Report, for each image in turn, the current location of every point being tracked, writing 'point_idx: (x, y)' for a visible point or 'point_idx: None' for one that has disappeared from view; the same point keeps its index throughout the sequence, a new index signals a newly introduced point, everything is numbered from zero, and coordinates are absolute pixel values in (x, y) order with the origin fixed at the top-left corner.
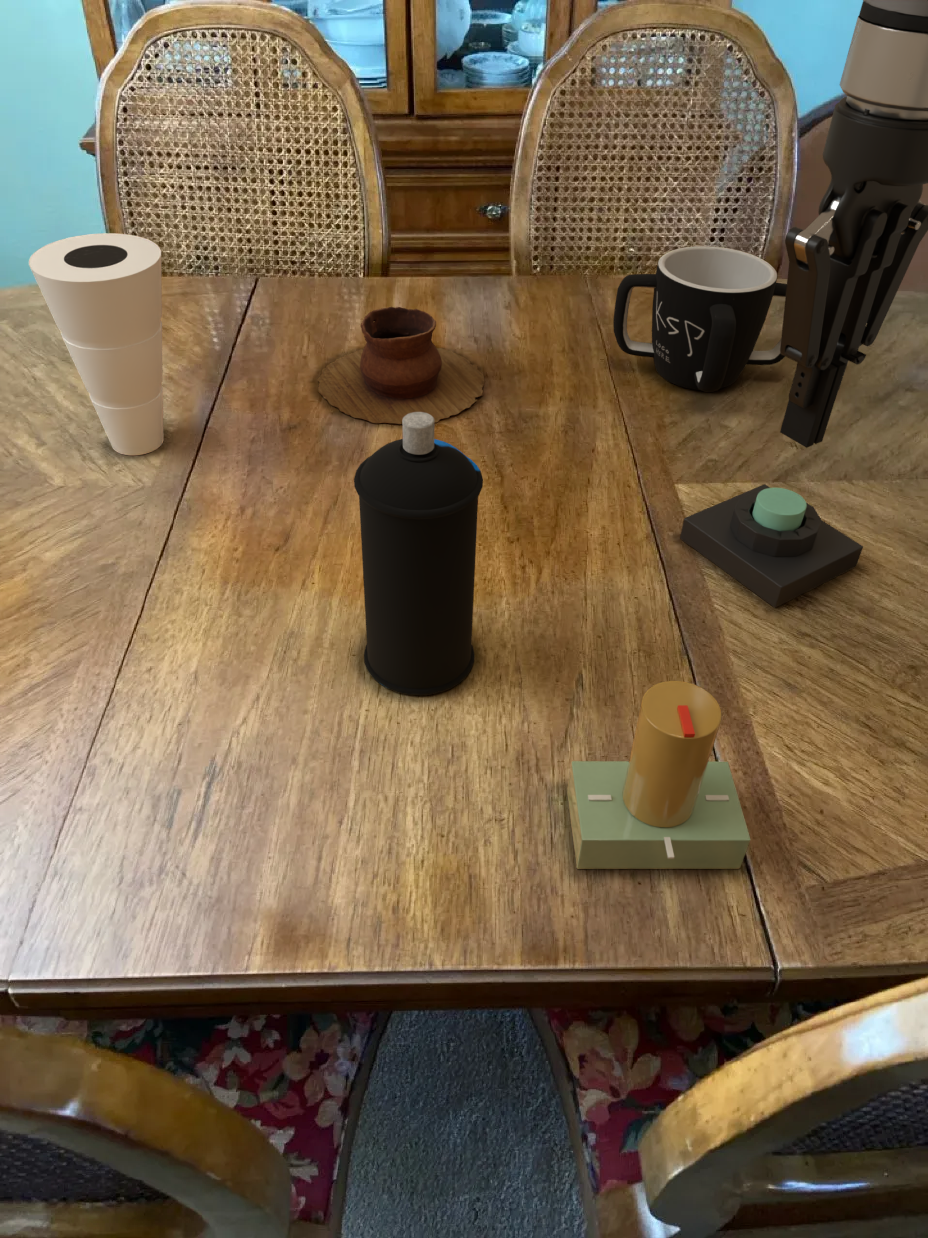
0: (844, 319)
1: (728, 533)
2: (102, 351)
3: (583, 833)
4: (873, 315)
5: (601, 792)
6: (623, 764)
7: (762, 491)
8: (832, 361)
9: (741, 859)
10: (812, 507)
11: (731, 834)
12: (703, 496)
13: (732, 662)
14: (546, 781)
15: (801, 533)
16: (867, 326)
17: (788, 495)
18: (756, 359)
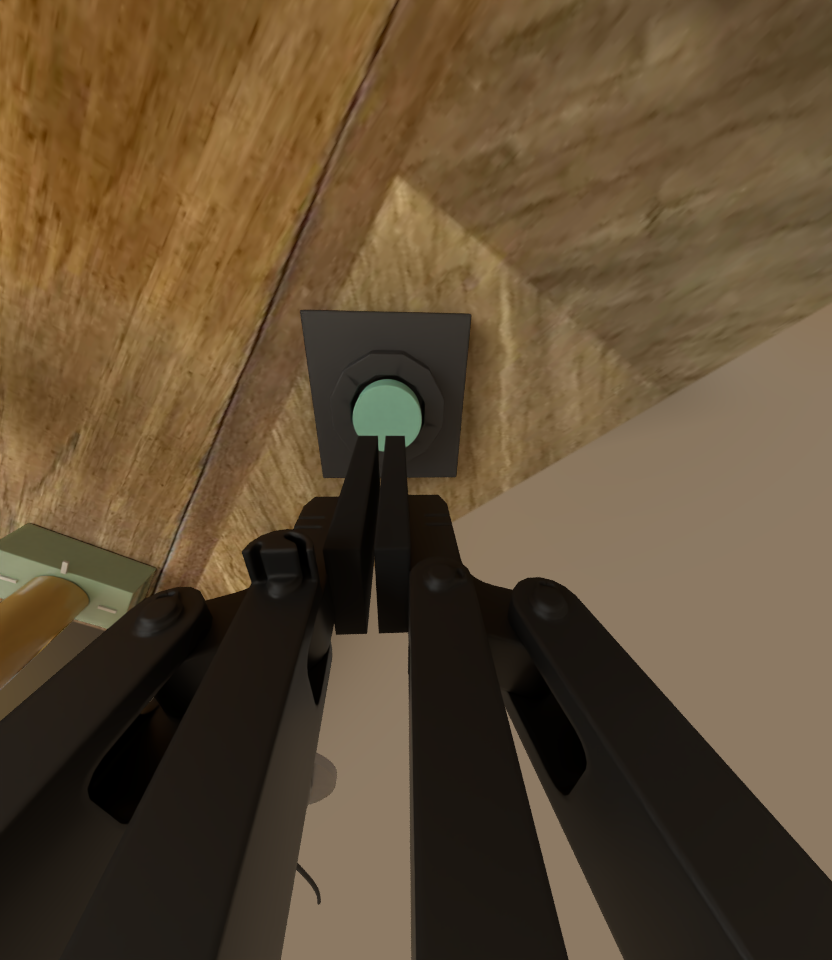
0: (292, 876)
1: (334, 376)
2: None
3: None
4: (548, 785)
5: (11, 574)
6: (38, 565)
7: (379, 389)
8: (385, 610)
9: None
10: (440, 427)
11: (106, 626)
12: (412, 243)
13: (241, 492)
14: (11, 508)
15: (383, 455)
16: (519, 723)
17: (406, 416)
18: None
